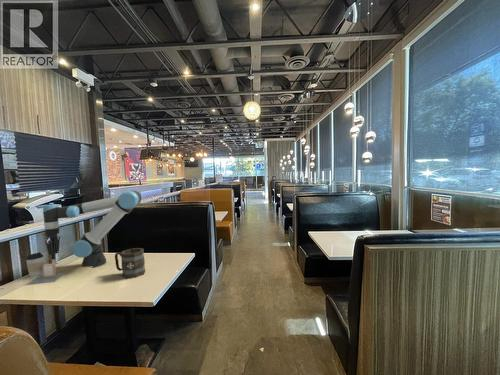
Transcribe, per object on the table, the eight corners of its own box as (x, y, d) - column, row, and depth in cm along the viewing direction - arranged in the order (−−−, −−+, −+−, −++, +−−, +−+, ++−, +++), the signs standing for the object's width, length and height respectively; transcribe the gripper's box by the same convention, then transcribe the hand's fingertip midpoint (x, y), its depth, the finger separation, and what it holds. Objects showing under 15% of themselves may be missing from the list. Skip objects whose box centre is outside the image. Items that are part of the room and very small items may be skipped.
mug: (150, 270, 169) (148, 248, 169) (136, 279, 156) (134, 254, 155) (124, 269, 174) (122, 247, 173) (108, 277, 161) (106, 253, 160)
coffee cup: (35, 279, 165) (33, 256, 164) (23, 279, 167) (21, 256, 166) (48, 274, 174) (46, 251, 173) (37, 273, 176) (35, 251, 175)
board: (68, 274, 171) (67, 272, 171) (54, 283, 156) (54, 281, 156) (40, 277, 169) (40, 275, 168) (24, 287, 153) (23, 285, 153)
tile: (56, 275, 166) (54, 263, 166) (54, 276, 164) (53, 264, 164) (45, 276, 165) (44, 264, 165) (43, 277, 163) (42, 265, 163)
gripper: (51, 226, 176) (54, 261, 177) (39, 230, 163) (42, 267, 164) (63, 225, 178) (66, 259, 179) (52, 229, 165) (55, 266, 166)
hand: (55, 263), depth 172 cm, fingers closed
